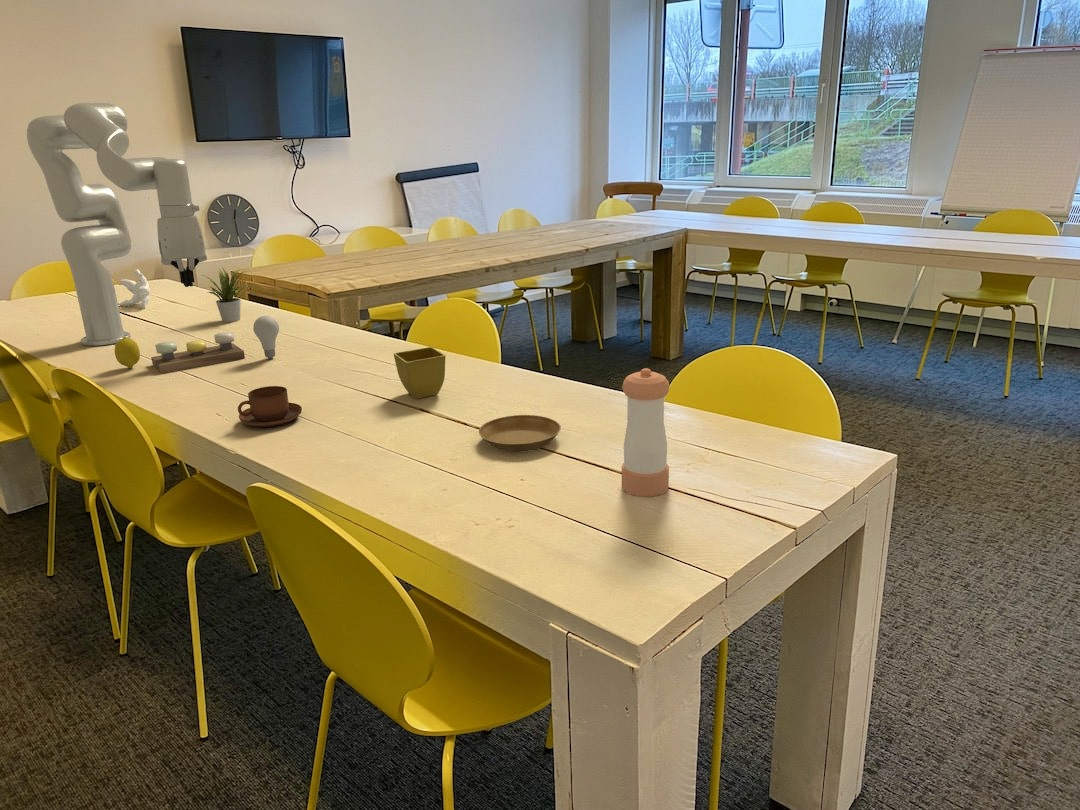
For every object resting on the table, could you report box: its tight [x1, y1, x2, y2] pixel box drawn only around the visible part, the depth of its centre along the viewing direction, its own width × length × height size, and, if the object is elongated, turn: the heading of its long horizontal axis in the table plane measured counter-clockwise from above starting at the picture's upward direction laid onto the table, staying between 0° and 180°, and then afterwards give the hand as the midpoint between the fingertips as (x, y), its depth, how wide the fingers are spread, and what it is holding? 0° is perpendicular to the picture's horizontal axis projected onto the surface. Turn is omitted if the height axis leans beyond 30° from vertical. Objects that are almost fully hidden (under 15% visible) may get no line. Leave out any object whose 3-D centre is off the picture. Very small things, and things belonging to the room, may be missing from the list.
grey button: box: [213, 331, 235, 351], centre depth 211 cm, size 5×5×4 cm
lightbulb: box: [252, 315, 280, 360], centre depth 206 cm, size 6×6×11 cm
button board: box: [150, 342, 246, 374], centre depth 208 cm, size 10×20×2 cm, turn 125°
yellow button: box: [185, 340, 207, 356], centre depth 207 cm, size 5×5×4 cm
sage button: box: [155, 341, 178, 361], centre depth 203 cm, size 5×5×4 cm
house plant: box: [201, 266, 250, 323], centre depth 249 cm, size 14×14×16 cm
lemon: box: [114, 337, 141, 369], centre depth 203 cm, size 6×6×8 cm
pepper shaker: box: [621, 367, 671, 498], centre depth 125 cm, size 7×7×19 cm
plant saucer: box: [478, 414, 562, 453], centre depth 148 cm, size 15×15×3 cm
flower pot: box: [393, 346, 446, 399], centre depth 175 cm, size 9×9×9 cm
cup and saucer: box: [237, 385, 303, 428], centre depth 163 cm, size 12×12×6 cm
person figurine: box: [118, 268, 151, 309], centre depth 279 cm, size 13×13×18 cm
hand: (188, 285), depth 208 cm, fingers closed
